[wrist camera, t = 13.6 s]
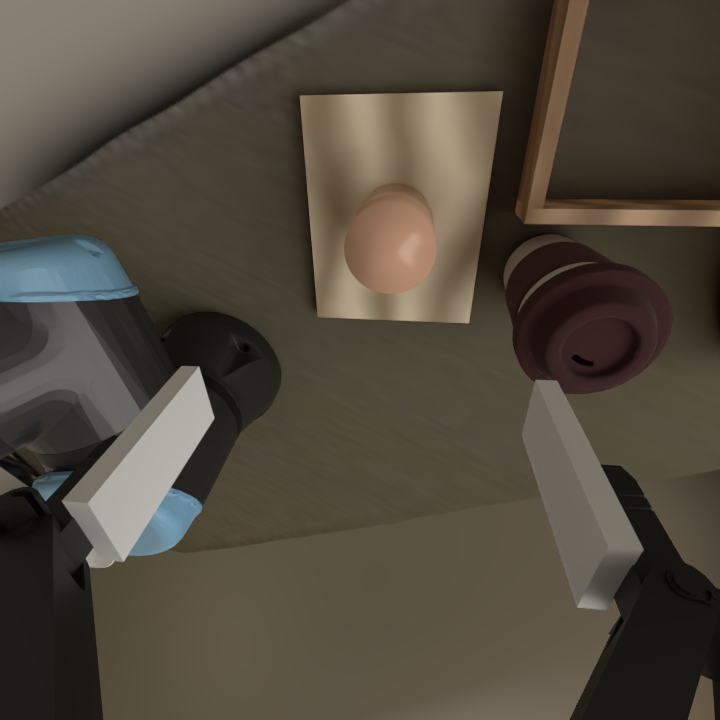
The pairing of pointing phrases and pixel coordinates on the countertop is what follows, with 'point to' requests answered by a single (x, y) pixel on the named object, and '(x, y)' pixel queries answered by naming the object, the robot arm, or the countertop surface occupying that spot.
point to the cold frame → (545, 137)
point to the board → (404, 166)
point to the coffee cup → (582, 315)
